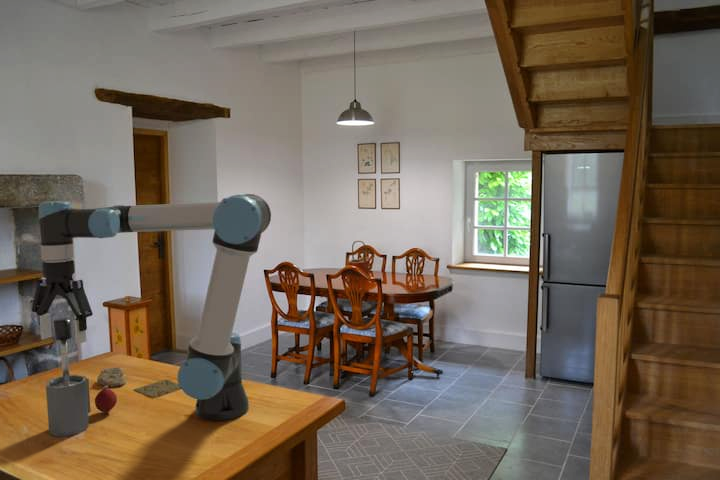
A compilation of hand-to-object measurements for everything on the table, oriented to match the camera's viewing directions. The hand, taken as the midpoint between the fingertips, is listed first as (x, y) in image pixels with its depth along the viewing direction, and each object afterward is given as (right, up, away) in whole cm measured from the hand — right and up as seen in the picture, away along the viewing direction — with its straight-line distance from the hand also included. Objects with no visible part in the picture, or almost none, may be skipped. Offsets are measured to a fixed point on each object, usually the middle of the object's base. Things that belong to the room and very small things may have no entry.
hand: (63, 340), depth 153 cm
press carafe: (0, -25, +3) cm, 25 cm away
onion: (+6, -24, +13) cm, 28 cm away
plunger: (0, -13, +2) cm, 13 cm away
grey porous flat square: (+14, -22, +32) cm, 41 cm away
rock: (-3, -21, +37) cm, 43 cm away
